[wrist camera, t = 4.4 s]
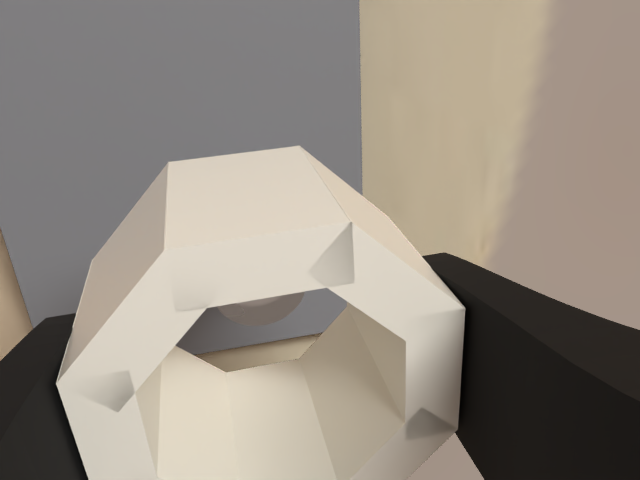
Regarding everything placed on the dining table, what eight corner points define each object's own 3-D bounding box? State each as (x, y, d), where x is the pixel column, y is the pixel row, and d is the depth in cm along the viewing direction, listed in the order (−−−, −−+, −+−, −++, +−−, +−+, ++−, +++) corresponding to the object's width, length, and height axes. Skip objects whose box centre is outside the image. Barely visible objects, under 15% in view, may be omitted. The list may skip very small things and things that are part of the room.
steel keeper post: (250, 261, 19) (270, 340, 15) (188, 226, 18) (191, 299, 14) (293, 205, 18) (325, 270, 14) (231, 165, 17) (248, 224, 13)
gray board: (355, 308, 22) (364, 325, 21) (56, 358, 20) (49, 380, 19) (337, -413, 13) (351, -445, 12) (-196, -448, 11) (-233, -490, 10)
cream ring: (389, 374, 13) (453, 499, 10) (136, 424, 12) (121, 580, 9) (386, 134, 11) (473, 202, 8) (68, 173, 10) (17, 271, 7)
